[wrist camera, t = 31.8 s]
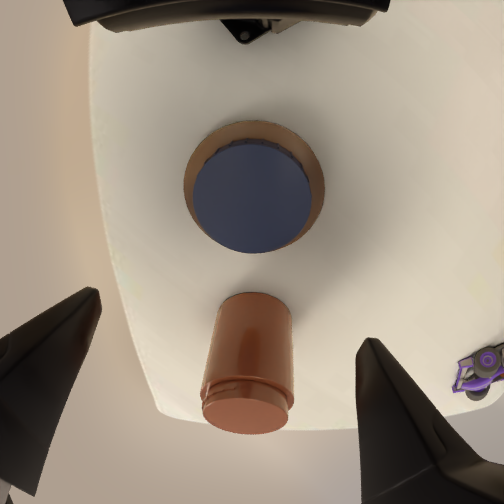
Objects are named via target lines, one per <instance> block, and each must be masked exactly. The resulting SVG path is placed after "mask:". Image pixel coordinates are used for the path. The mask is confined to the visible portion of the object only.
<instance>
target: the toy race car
mask: <svg viewBox="0 0 504 504" xmlns="http://www.w3.org/2000/svg"><path fill="white" fill-rule="evenodd" d="M458 364H459V367H460V371H459V375H458V379H457V382H456V385H455V386H453V387H452V390H453V393H456V392H463V391H465V392H466V395H467V397H468V398H469V399H471V400H473V401H479V400H481V399H483V398H484V397H485V396H486V395H487V393H488V391H489V389H490V384H491V383H493V382H496V381H497V382H498V381H502V380H504V344H502V345H500V346H498V347H496V348H490V347H486V348H483V349H481V350H480V351H479V352H478V353H477V354H476V357H475V360H474V363H473V359H472V357H469V358H466V359H464V360H461V361H459V363H458ZM468 367H473V369H474V372H475V373H474V374H473V375H472V376H471V377H470V379H469V380H468V381H467V380H465V379H464V377H465V374H466V371H467V369H468Z"/></svg>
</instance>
